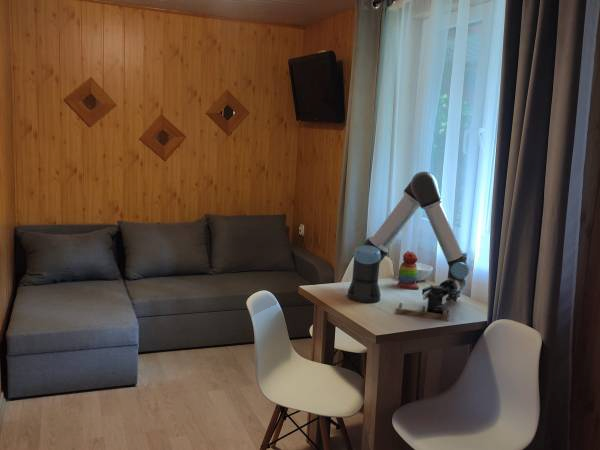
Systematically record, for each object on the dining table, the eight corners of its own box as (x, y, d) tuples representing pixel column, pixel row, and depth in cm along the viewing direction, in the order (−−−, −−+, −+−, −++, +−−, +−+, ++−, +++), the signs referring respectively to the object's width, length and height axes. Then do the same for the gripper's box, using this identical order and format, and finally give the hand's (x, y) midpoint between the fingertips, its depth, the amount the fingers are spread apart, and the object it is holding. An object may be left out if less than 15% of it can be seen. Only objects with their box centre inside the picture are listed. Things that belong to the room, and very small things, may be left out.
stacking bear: (419, 290, 290) (423, 254, 287) (398, 288, 290) (402, 253, 287) (415, 284, 300) (418, 250, 297) (395, 283, 300) (398, 248, 297)
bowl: (431, 284, 302) (433, 271, 301) (400, 281, 305) (401, 267, 304) (431, 277, 318) (432, 264, 317) (401, 274, 321) (402, 261, 320)
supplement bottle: (440, 317, 246) (442, 289, 244) (424, 314, 249) (426, 287, 248) (445, 313, 252) (447, 286, 250) (430, 310, 255) (432, 284, 253)
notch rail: (397, 313, 249) (397, 308, 249) (399, 307, 258) (399, 302, 258) (447, 320, 244) (448, 316, 244) (448, 314, 253) (448, 309, 253)
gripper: (470, 300, 260) (456, 312, 241) (426, 291, 270) (409, 302, 251) (472, 284, 259) (458, 295, 239) (428, 275, 269) (410, 285, 249)
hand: (433, 298), depth 245 cm, fingers open, 7 cm apart
